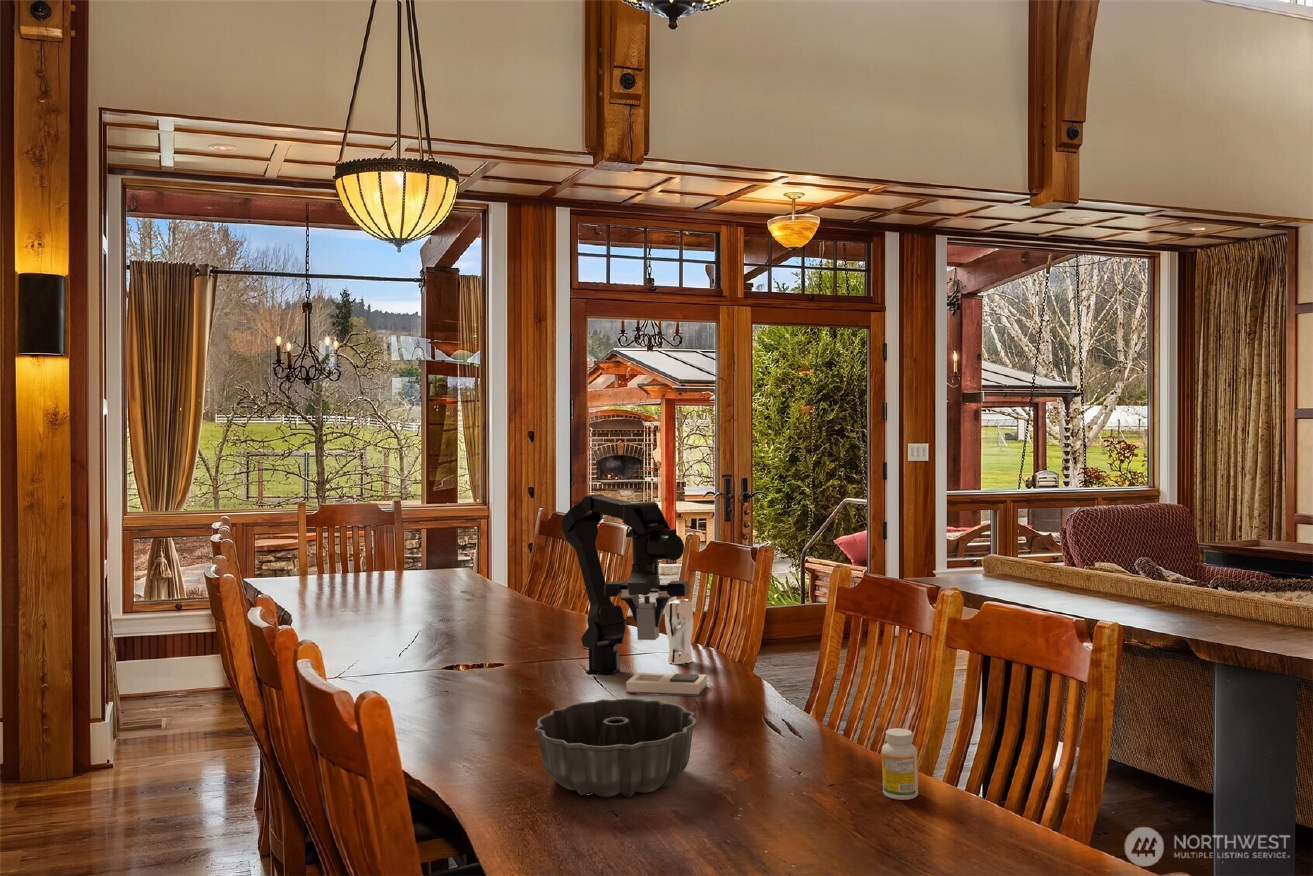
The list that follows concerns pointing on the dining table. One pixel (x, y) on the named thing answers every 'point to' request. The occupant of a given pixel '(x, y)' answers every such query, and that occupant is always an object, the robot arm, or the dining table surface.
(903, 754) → the supplement bottle
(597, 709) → the bundt pan
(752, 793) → the dining table surface
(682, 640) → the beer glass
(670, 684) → the beige flat block
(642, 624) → the plug
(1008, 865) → the dining table surface
